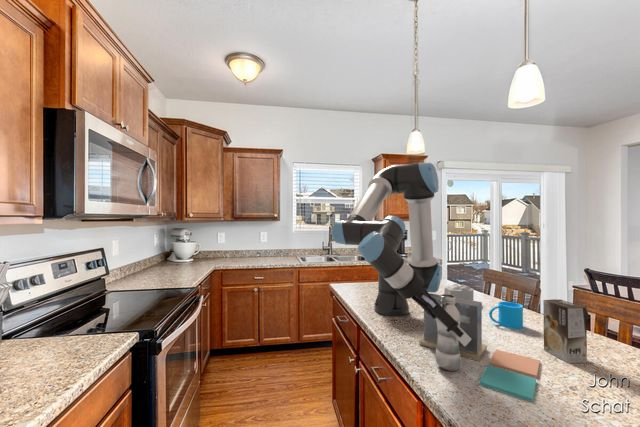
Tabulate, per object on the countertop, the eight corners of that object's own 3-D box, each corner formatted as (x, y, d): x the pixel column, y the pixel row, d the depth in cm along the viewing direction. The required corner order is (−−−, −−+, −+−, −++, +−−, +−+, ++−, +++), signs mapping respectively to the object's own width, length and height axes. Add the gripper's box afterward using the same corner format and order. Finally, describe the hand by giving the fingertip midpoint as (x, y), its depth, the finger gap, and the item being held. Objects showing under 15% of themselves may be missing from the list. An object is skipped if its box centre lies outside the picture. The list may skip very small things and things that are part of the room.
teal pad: (478, 384, 75) (478, 381, 75) (487, 367, 84) (487, 364, 84) (532, 402, 68) (532, 398, 68) (536, 381, 77) (536, 378, 77)
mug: (515, 322, 121) (516, 301, 121) (527, 329, 113) (527, 308, 113) (484, 320, 122) (484, 300, 122) (494, 328, 114) (494, 306, 114)
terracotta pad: (489, 365, 85) (489, 362, 85) (496, 351, 94) (496, 349, 94) (536, 378, 78) (536, 375, 78) (539, 362, 87) (539, 360, 87)
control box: (419, 344, 99) (419, 297, 99) (429, 335, 106) (429, 291, 107) (479, 361, 87) (480, 308, 87) (486, 350, 95) (486, 301, 95)
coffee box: (588, 363, 87) (588, 307, 87) (568, 363, 87) (568, 307, 87) (560, 349, 96) (560, 298, 96) (542, 349, 96) (542, 299, 96)
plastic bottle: (450, 376, 79) (450, 300, 79) (429, 364, 85) (430, 294, 85) (466, 370, 82) (466, 297, 82) (445, 360, 88) (446, 291, 88)
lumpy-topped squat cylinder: (441, 300, 152) (442, 283, 152) (466, 299, 154) (466, 282, 154) (452, 306, 142) (453, 288, 142) (478, 305, 143) (478, 287, 143)
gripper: (429, 276, 73) (492, 341, 74) (400, 264, 92) (450, 315, 94) (408, 298, 72) (472, 363, 74) (383, 281, 92) (434, 333, 93)
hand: (460, 336), depth 84 cm, fingers closed on plastic bottle, 6 cm apart
